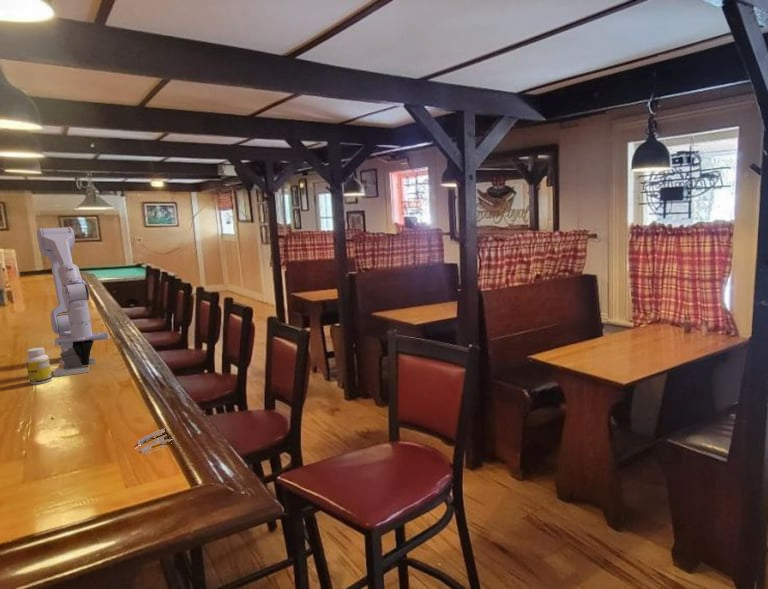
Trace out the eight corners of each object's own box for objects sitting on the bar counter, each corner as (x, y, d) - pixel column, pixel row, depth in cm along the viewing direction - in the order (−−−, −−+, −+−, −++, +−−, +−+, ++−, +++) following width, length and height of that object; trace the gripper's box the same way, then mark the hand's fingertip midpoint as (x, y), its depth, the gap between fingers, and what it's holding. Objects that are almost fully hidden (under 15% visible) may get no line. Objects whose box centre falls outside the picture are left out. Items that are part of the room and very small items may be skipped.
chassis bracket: (63, 366, 164) (62, 359, 164) (95, 361, 167) (94, 355, 167) (54, 377, 152) (53, 370, 152) (88, 372, 155) (87, 365, 155)
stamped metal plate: (167, 434, 106) (166, 427, 106) (185, 441, 102) (184, 434, 102) (129, 448, 100) (128, 441, 100) (146, 457, 96) (146, 449, 96)
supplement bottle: (25, 383, 147) (20, 350, 145) (45, 378, 151) (40, 346, 150) (36, 385, 144) (31, 352, 143) (56, 380, 149) (51, 347, 147)
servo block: (72, 367, 162) (62, 348, 160) (85, 362, 163) (75, 343, 161) (68, 372, 156) (57, 352, 154) (82, 367, 157) (71, 347, 156)
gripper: (49, 327, 152) (56, 371, 154) (104, 321, 157) (110, 364, 159) (55, 323, 159) (61, 365, 161) (107, 317, 164) (113, 358, 166)
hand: (86, 364), depth 160 cm, fingers closed
